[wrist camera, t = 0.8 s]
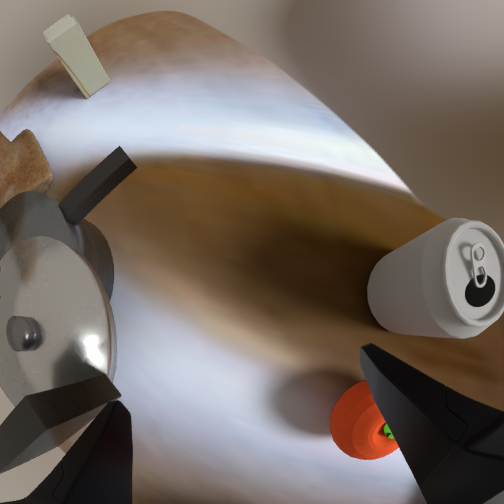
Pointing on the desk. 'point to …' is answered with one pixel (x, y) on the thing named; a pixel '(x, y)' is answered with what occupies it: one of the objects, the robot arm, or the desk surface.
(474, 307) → the can
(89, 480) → the robot arm
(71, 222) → the pot
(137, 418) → the desk surface
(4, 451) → the lid
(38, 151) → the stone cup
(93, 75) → the skincare box
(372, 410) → the clementine
